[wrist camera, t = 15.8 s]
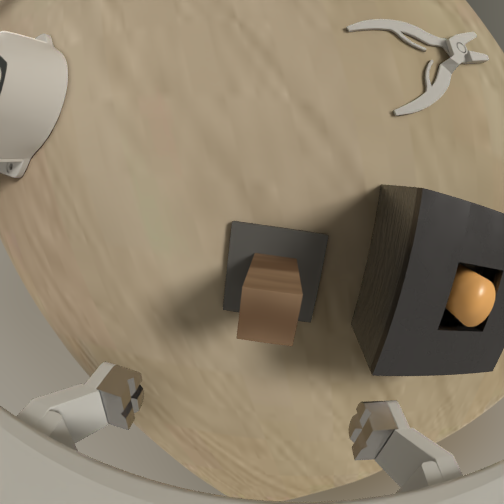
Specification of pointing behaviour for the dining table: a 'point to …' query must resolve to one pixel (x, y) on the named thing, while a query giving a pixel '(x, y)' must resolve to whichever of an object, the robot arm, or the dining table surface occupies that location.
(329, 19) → the dining table surface
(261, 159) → the dining table surface
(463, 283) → the egg
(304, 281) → the pad
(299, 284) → the wood grain block
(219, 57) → the dining table surface
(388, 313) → the box
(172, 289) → the dining table surface
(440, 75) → the pliers
